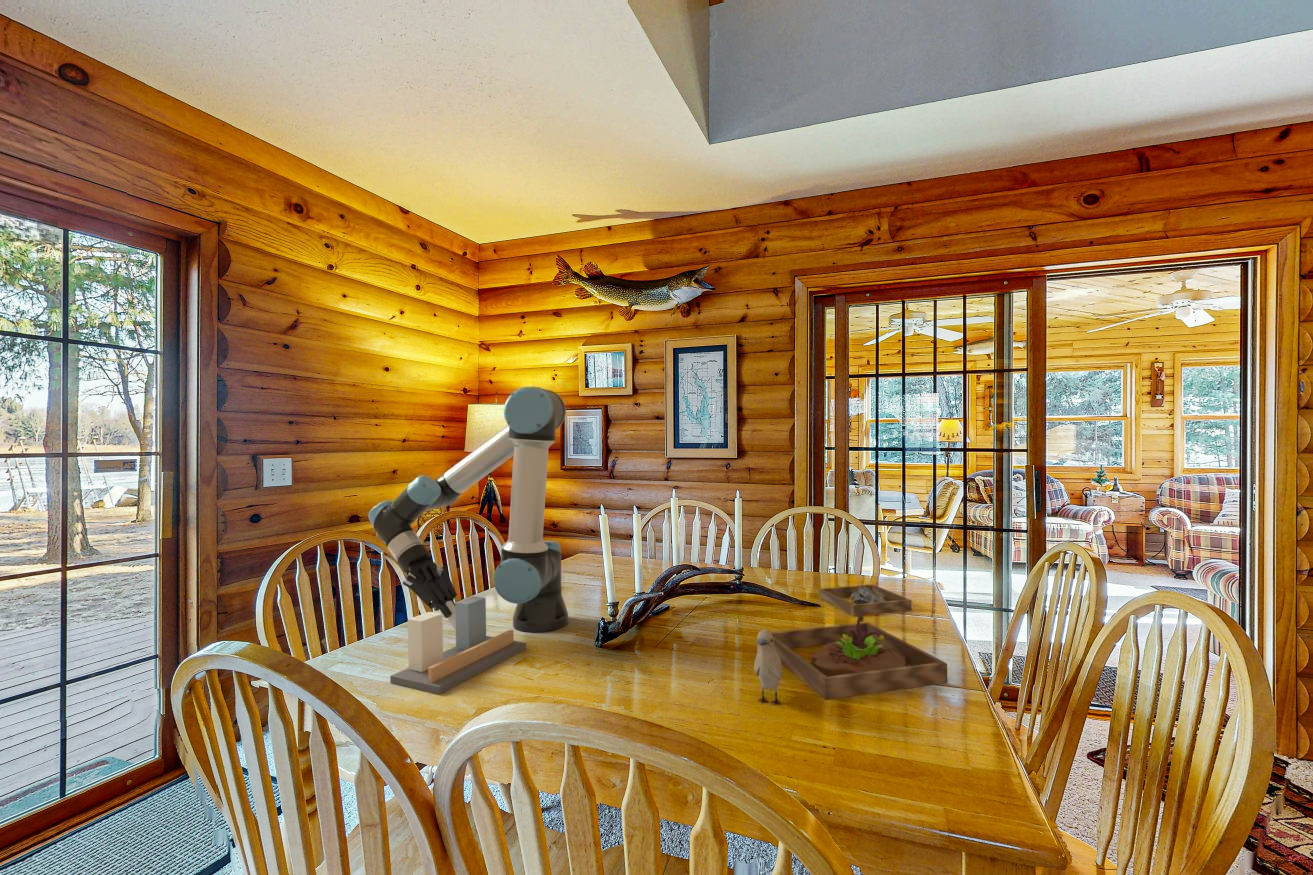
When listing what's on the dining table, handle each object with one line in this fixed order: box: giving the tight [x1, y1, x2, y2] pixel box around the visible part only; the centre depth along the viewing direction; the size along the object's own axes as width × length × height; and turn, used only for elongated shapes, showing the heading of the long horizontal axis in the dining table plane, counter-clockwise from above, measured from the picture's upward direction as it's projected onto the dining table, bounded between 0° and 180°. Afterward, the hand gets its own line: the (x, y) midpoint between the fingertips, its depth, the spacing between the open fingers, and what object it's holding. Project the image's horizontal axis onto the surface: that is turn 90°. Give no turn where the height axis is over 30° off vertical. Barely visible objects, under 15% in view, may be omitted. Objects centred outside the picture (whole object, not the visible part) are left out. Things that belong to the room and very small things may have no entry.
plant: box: [810, 615, 907, 677], centre depth 132 cm, size 20×20×11 cm
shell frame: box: [818, 583, 912, 617], centre depth 179 cm, size 19×19×3 cm
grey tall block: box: [454, 595, 487, 650], centre depth 145 cm, size 4×6×11 cm, turn 154°
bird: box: [753, 628, 783, 706], centre depth 115 cm, size 5×14×15 cm, turn 158°
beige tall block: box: [407, 611, 444, 672], centre depth 132 cm, size 4×6×11 cm, turn 154°
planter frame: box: [769, 621, 948, 701], centre depth 133 cm, size 28×28×4 cm
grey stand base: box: [389, 629, 527, 695], centre depth 137 cm, size 14×28×4 cm, turn 154°
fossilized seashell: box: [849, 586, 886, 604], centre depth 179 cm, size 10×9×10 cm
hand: (460, 625), depth 146 cm, fingers closed
